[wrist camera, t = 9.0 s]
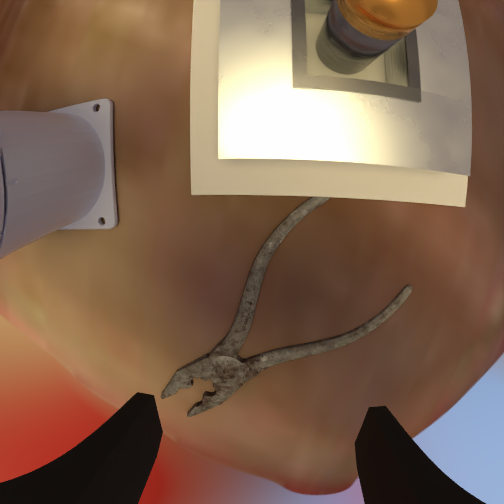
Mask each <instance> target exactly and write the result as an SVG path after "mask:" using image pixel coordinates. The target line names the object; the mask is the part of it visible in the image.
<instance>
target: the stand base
mask: <svg viewBox="0 0 504 504" xmlns="http://www.w3.org/2000/svg"><path fill="white" fill-rule="evenodd" d="M305 15H306V41H307V74H308V75H323V76H335V77H345V78H354V79H362V80H370V81H377V82H383V83H385V65H384V53H383V54H382V55H381V56H379V57H378V58H377V59H376V60H374V61H373V62H372V63H371V64H369V65H368V66H367V67H366V68H365V69H363V70H362V71H360V72H358V73H356V74H351V75H345V74H339V73H336V72H334V71H332V70H330V69H329V68H327V67H326V66H325V65H324V64H323V63H322V62H321V60H320V59H319V57H318V55H317V52H316V40H317V37H318V35H319V33H320V30H321V28H322V25H323V23H324V21H325V18H326V16H327V15H325V14H313V13H305ZM219 29H220V0H194V5H193V23H192V46H191V82H190V158H191V195H284V196H317V197H340V198H359V199H376V200H390V201H404V202H416V203H428V204H439V205H449V206H459V207H465V202H466V192H467V181H468V176H466V175H459V174H453V173H446V172H439V171H432V170H424V169H416V168H408V167H399V166H389V165H379V164H368V163H355V162H341V161H324V160H302V159H256V158H238V159H218V84H219Z"/></svg>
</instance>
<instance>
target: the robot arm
mask: <svg viewBox="0 0 504 504" xmlns="http://www.w3.org/2000/svg"><path fill="white" fill-rule="evenodd" d="M97 105H100V109H99V111H96V107H97ZM101 218H104V219H105V224H103V223H102V221H101ZM117 223H118V217H117V205H116V192H115V176H114V153H113V103H112V101H111V100H109V99H99V100H94V101H89V102H85V103H80V104H76V105H72V106H68V107H64V108H60V109H56V110H52V111H48V112H37V111H11V110H0V259H1V258H3V257H5V256H7V255H8V254H10V253H12V252H14V251H16V250H18V249H20V248H22V247H24V246H26V245H28V244H30V243H32V242H34V241H36V240H38V239H40V238H42V237H44V236H46V235H48V234H50V233H52V232H54V231H56V230H67V229H112V228H114V227H115V226H116V225H117ZM162 433H163V431H162V427H161V423H160V419H159V415H158V411H157V406H156V402H155V398H154V395H150V394H144V393H139V392H137V393H136V394H135V395H134V396H133V397H132V398H131V399H130V400H129V401H127V402H126V403H125V404H124V405H123V406H122V407H121V408H120V409H119V410H118V411H117V412H116V413H115V414H114V415H113V416H112V417H111V418H109V419H108V420H107V421H106V422H105V423H104V424H103V425H101V426H100V427H99V428H98V429H97V430H96V431H95V432H93V433H92V434H91V435H90V436H88V437H87V438H86V439H84V440H83V441H82V442H81V443H79V444H78V445H77V446H76V447H74V448H72V449H71V450H70V451H68V452H67V453H65V454H63V455H62V456H61V457H59V458H57V459H55V460H54V461H52V462H50V463H48V464H46V465H44V466H42V467H41V468H38V469H36V470H34V471H32V472H30V473H27V474H25V475H22V476H19V477H17V478H14V479H12V480H8V481H5V482H2V483H0V504H138V502H139V500H140V497H141V495H142V492H143V489H144V487H145V485H146V482H147V480H148V477H149V475H150V472H151V470H152V467H153V464H154V462H155V459H156V457H157V453H158V450H159V445H160V441H161V437H162ZM355 452H356V463H357V470H358V475H359V479H360V484H361V489H362V493H363V497H364V502H365V504H486V503H484V502H482V501H481V500H479V499H477V498H476V497H474V496H473V495H471V494H470V493H468V492H467V491H465V490H464V489H463V488H461V487H460V486H459V485H457V484H456V483H455V482H454V481H453V480H452V479H450V478H449V477H448V476H447V475H445V474H444V473H443V472H442V471H441V470H440V469H439V468H438V467H437V466H436V465H435V464H434V463H433V462H432V461H431V460H430V459H429V458H428V457H427V455H426V454H425V453H424V452H423V451H422V450H421V449H420V448H419V446H418V445H417V444H416V443H415V442H414V441H413V439H412V438H411V437H410V436H409V435H408V433H407V432H406V431H405V430H404V428H403V427H402V426H401V425H400V423H399V422H398V421H397V420H396V418H395V417H394V416H393V415H392V413H391V412H390V411H389V410H388V408H387V407H386V406H379V407H369V409H368V411H367V414H366V416H365V419H364V422H363V424H362V427H361V429H360V432H359V434H358V436H357V439H356V441H355Z"/></svg>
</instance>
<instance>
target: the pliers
mask: <svg viewBox="0 0 504 504" xmlns="http://www.w3.org/2000/svg"><path fill="white" fill-rule="evenodd" d="M330 198H331V197H317V196H313V197H311V198H310V199H308V200H307V201H305V202H304V203H302V204H301V205H300V206H299V207H297V208H296V209H295V210H294V211H293V212H292V213H290V214H289V215H288V216H287V217H286V218H285V219H284V220H283V221H282V223H281V224H280V225H279V226H278V227H277V228H276V229H275V230H274V231H273V233H272V234H271V235H270V237H269V238H268V239H267V240H266V242H265V243H264V245H263V246H262V248H261V250H260V251H259V253H258V255H257V257H256V258H255V261H254V263H253V266H252V268H251V271H250V273H249V277H248V280H247V283H246V286H245V290H244V293H243V296H242V299H241V303H240V306H239V309H238V312H237V315H236V318H235V320H234V323H233V325H232V327H231V329H230V331H229V333H228V334H227V335H226V337H225V338H224V339H223V340H222V341H221V342H220V343H219V344H218V345H217V346H216V347H215V348H214V349H213V350H212V351H211V352H210V354H209V353H208V354H206V355H205V356H203V357H201V358H199V359H197V360H195V361H193V362H191V363H190V364H188V365H186V366H184V367H182V368H180V369H178V370H177V372H176V373H175V375H174V376H173V378H172V379H171V381H170V382H169V384H168V385H167V387H166V388H165V390H164V391H163V393H162V395H161V398H162V399H164V398H166V397H169V396H171V395H174V394H176V393H177V391H178V389H181V388H190V387H192V385H193V380H192V379H193V378H201V379H203V380H205V381H206V380H208V379H210V380H211V381H213V382H214V384H213V387H214V388H215V389H216V390H217V391H215V392H207V391H206V392H205V393H204V394H203V398H202V401H201V402H197V403H195V405H194V406H193V407H192V408H191V409H190V410H189V411H188V414H187V417H192V416H194V415H196V414H199V413H201V412H204V411H206V410H208V409H211V408H213V407H215V406H218V405H220V404H222V403H223V402H224V401H225V400H227V399H228V398H229V397H230V396H231V395H232V394H234V393H235V392H236V391H237V390H238V389H239V388H240V387H241V386H242V385H243V383H245V382H247V381H248V380H250V379H252V378H254V377H255V376H257V375H258V374H259V373H260V372H261V371H263V370H265V369H266V368H268V367H270V366H273V365H276V364H279V363H282V362H286V361H290V360H293V359H298V358H302V357H306V356H310V355H314V354H318V353H322V352H325V351H329V350H333V349H336V348H339V347H341V346H344V345H347V344H349V343H351V342H353V341H355V340H357V339H359V338H361V337H363V336H364V335H366V334H368V333H369V332H371V331H372V330H374V329H375V328H376V327H378V326H379V325H380V324H382V323H383V322H384V321H385V320H387V319H388V318H389V317H390V316H391V315H392V314H393V313H394V312H395V311H396V310H397V309H398V308H399V307H400V306H401V305H402V303H403V302H404V301H405V300H406V299H407V297H408V296H409V294H410V293H411V291H412V286H411V285H406V286H405V287H404V288H403V289H402V291H401V292H400V293H399V294H398V295H397V296H396V297H395V299H394V300H393V301H392V302H391V303H390V304H389V305H388V306H387V307H386V308H385V309H384V310H383V311H382V312H380V313H379V314H378V315H376V316H375V317H374V318H372V319H371V320H369V321H368V322H366V323H365V324H363V325H361V326H360V327H358V328H356V329H354V330H352V331H350V332H347V333H345V334H343V335H339V336H336V337H332V338H328V339H324V340H320V341H315V342H310V343H305V344H300V345H294V346H288V347H283V348H278V349H274V350H271V351H267V352H264V353H261V354H258V355H255V356H252V357H249V358H247V359H242V358H241V357H239V356H238V355H237V354H238V353H239V351H240V349H241V347H242V345H243V343H244V341H245V339H246V337H247V334H248V332H249V330H250V327H251V323H252V320H253V316H254V312H255V307H256V303H257V299H258V295H259V291H260V287H261V284H262V280H263V277H264V274H265V271H266V268H267V265H268V263H269V261H270V259H271V257H272V255H273V253H274V251H275V250H276V248H277V247H278V246H279V244H280V243H281V242H282V240H283V239H284V237H285V236H286V235H287V234H288V233H289V232H290V231H291V229H292V228H293V227H294V226H295V225H296V224H297V223H298V222H299V221H300V220H302V219H303V218H304V217H305V216H306V215H307V214H309V213H310V212H311V211H313V210H314V209H316V208H317V207H319V206H320V205H322V204H323V203H324V202H326V201H327V200H328V199H330Z"/></svg>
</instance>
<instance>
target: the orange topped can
mask: <svg viewBox="0 0 504 504" xmlns="http://www.w3.org/2000/svg"><path fill="white" fill-rule="evenodd" d="M437 5H438V0H333V2H332V4H331V6H330V9H329V11H328V13H327V16H326V18H325V21H324V23H323V25H322V28H321V30H320V33H319V35H318V37H317V40H316V52H317V55H318V57H319V59H320V60H321V62H322V63H323V64H324V65H325V66H326V67H327V68H329V69H330V70H332V71H334V72H336V73H339V74H345V75H351V74H356V73H358V72H360V71H362V70H363V69H365V68H366V67H367V66H368V65H369V64H371V63H372V62H373V61H374V60H376V59H377V58H378V57H379V56H381V55H382V54H383V53H384V52H386V51H387V50H388V49H389V48H391V47H392V46H393V45H395V44H396V43H397V42H398V41H400V40H401V39H402V38H404V37H405V36H406V35H407V34H409V33H410V32H411V31H413V30H414V29H415V28H417V27H418V26H419V25H421V24H422V23H423V22H425V21H426V20H427V19H429V18H430V17H431V16H432V15H433V14H434V13H435V11H436V9H437Z"/></svg>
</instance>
